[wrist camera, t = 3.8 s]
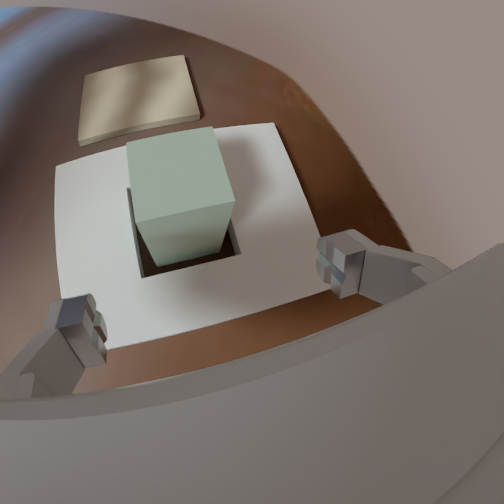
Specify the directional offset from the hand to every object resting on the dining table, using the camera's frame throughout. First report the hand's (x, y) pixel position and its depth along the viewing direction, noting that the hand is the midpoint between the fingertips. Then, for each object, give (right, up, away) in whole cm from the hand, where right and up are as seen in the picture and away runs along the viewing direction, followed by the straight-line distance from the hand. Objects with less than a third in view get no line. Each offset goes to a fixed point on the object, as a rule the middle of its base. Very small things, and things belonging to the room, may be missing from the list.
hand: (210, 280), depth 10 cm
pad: (-10, +16, +13) cm, 23 cm away
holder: (-4, +3, +10) cm, 11 cm away
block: (-4, +2, +11) cm, 11 cm away
